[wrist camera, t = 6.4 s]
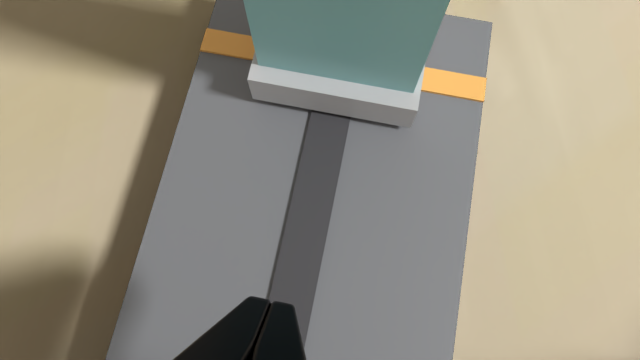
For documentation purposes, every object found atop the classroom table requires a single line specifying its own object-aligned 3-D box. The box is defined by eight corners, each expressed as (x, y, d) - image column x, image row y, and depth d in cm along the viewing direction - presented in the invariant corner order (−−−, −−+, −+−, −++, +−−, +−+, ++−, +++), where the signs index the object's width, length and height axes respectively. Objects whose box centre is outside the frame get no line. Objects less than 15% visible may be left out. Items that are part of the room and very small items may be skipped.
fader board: (412, 574, 13) (424, 607, 11) (85, 496, 13) (54, 517, 12) (478, 47, 18) (493, 20, 16) (231, 4, 18) (223, -26, 16)
